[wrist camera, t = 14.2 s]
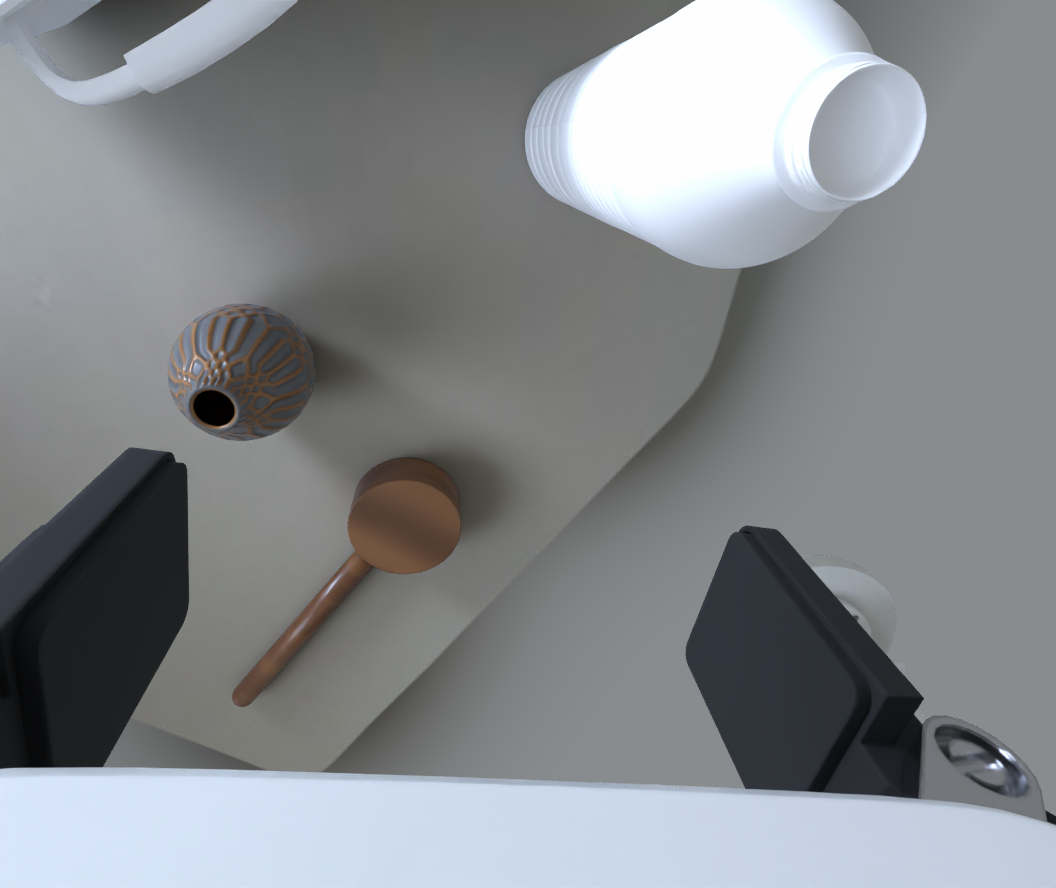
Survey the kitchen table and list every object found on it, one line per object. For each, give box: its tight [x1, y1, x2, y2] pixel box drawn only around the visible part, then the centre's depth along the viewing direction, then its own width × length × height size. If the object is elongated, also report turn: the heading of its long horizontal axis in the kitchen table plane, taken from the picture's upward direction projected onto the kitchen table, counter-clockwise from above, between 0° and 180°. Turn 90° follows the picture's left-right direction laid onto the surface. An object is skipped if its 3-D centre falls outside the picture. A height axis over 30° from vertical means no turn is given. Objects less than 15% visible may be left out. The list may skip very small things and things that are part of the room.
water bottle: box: [525, 0, 927, 269], centre depth 22 cm, size 9×6×25 cm
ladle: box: [232, 458, 461, 707], centre depth 43 cm, size 24×7×3 cm, turn 139°
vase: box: [168, 304, 316, 441], centre depth 32 cm, size 7×7×9 cm
